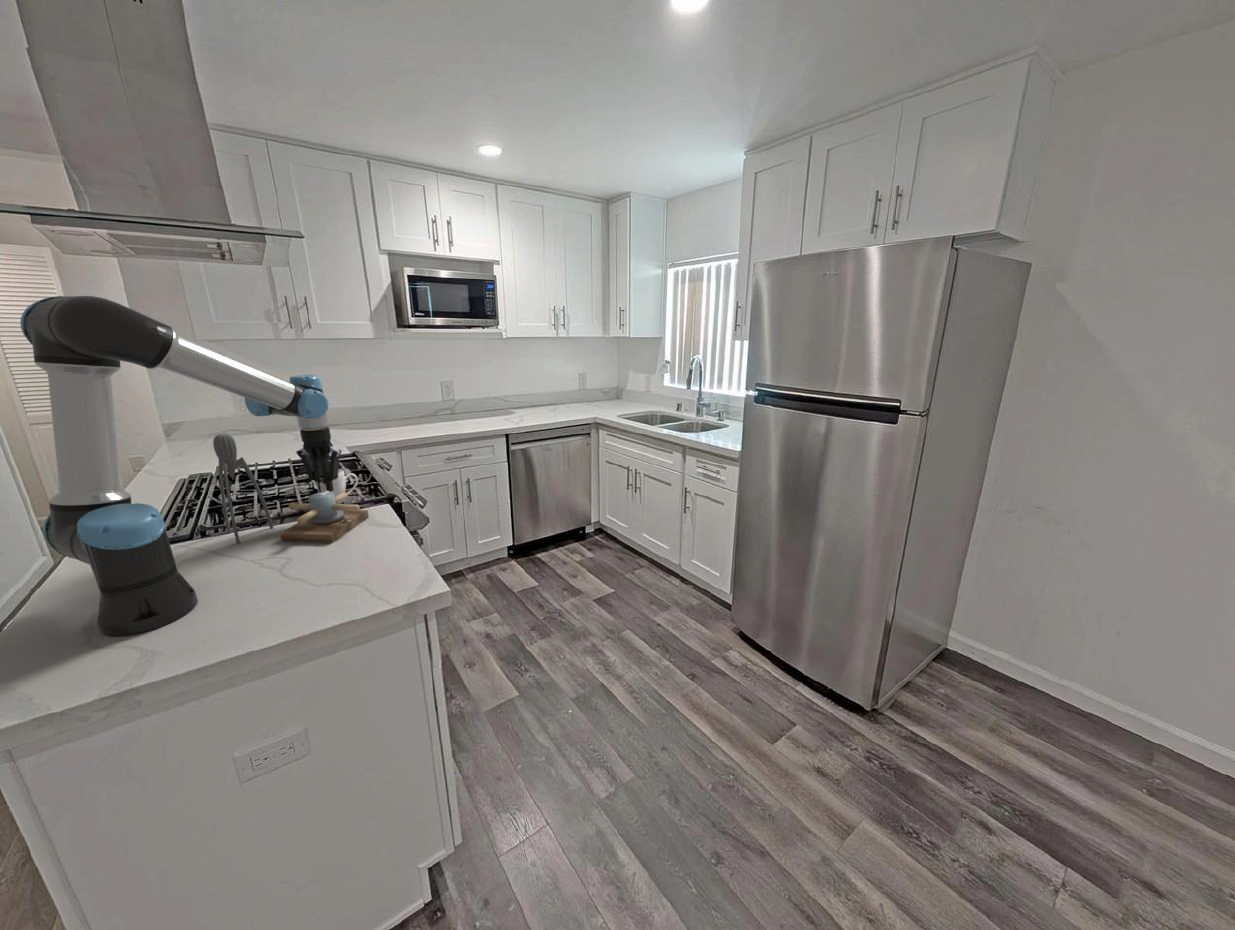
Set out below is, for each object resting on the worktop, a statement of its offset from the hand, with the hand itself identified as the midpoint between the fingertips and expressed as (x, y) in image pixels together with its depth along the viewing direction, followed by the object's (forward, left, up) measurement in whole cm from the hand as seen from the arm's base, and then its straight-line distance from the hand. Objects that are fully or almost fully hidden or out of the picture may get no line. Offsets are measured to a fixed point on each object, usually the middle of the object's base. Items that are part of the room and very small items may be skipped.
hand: (328, 501), depth 149 cm
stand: (-8, -4, -5) cm, 11 cm away
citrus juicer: (-13, +18, -6) cm, 23 cm away
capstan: (-8, -5, -3) cm, 10 cm away
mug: (+12, +4, -6) cm, 14 cm away
